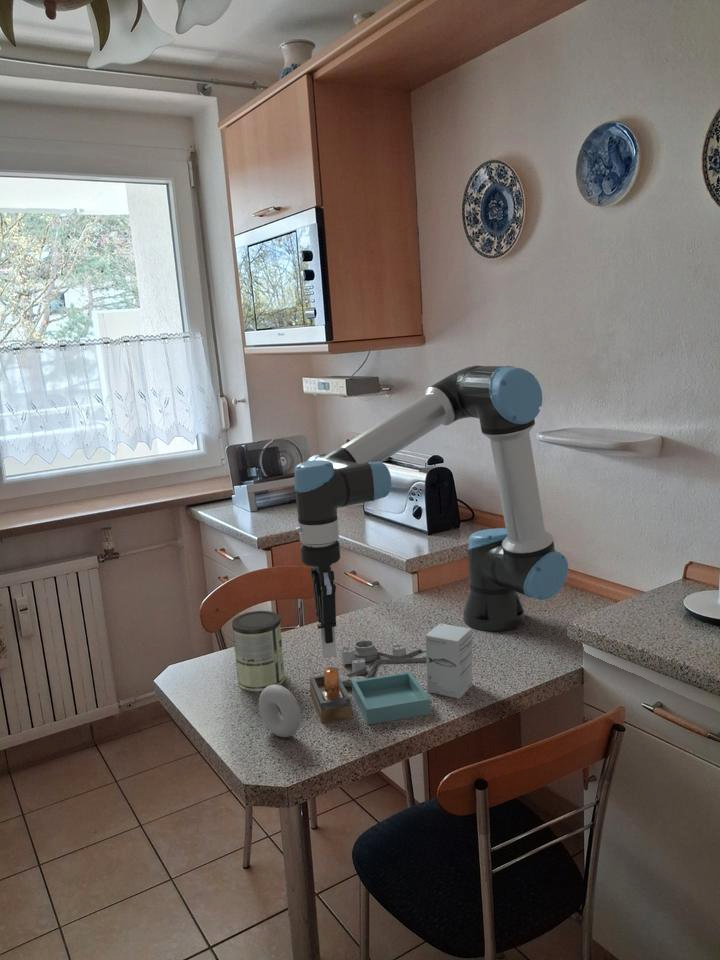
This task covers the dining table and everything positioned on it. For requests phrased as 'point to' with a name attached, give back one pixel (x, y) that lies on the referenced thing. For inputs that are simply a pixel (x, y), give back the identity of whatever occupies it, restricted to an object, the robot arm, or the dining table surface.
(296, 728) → the donut
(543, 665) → the dining table surface
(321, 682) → the base
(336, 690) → the copper rounded cylinder
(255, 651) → the coffee can
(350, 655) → the pulley system
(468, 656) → the supplement box
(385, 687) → the tray
